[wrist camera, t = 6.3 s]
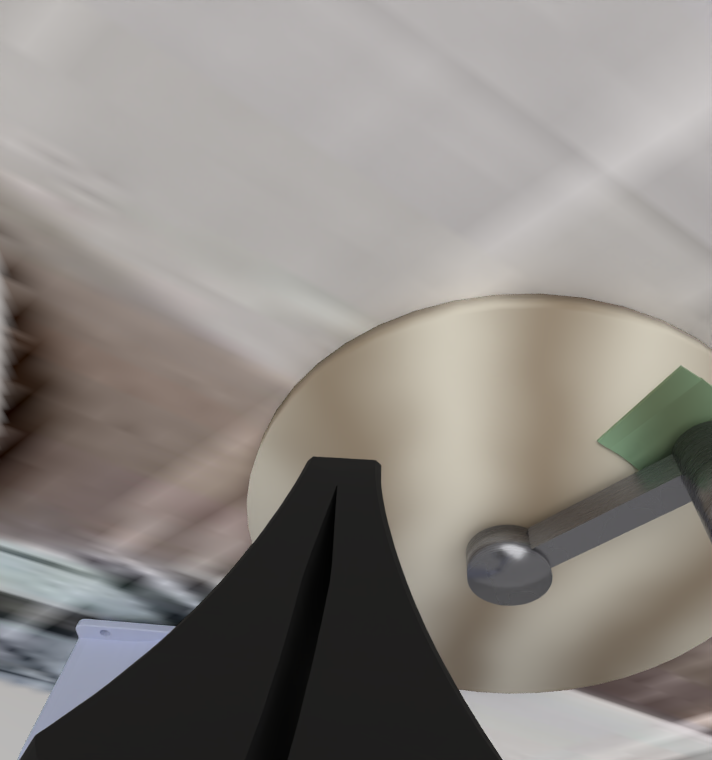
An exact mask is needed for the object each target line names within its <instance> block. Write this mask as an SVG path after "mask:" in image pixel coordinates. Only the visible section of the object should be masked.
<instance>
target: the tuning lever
mask: <svg viewBox="0 0 712 760" xmlns="http://www.w3.org/2000/svg"><path fill="white" fill-rule="evenodd" d="M690 502H692V503H693V505H694V507H695V509H696V511H697V514H698V516H699V518H700V520H701V522H702V524H703V526H704V529H705V531H706V533H707V535H708V537H709V539H710V542H711V544H712V421H707V422H703V423H700V424H698V425H696V426H693V427H692V428H690V429H688V430H687V431H686V432H684V433H683V434H682V435H681V436H680V437H679V438H678V440H677V441H676V443H675V445H674V447H673V450H672V454H671V455H669V456H667V457H665V458H663V459H661V460H660V461H658V462H656V463H654V464H652V465H650V466H648V467H646V468H644V469H642V470H640V471H638V472H636V473H634V474H632V475H630V476H628V477H627V478H625V479H623V480H621V481H619V482H617V483H615V484H613V485H611V486H609V487H607V488H605V489H603V490H601V491H599V492H597V493H595V494H593V495H592V496H590V497H588V498H586V499H584V500H582V501H580V502H578V503H576V504H574V505H572V506H570V507H568V508H566V509H564V510H562V511H560V512H558V513H557V514H555V515H553V516H551V517H549V518H547V519H545V520H543V521H541V522H539V523H537V524H535V525H533V526H531V527H529V528H525V527H522V526H517V525H498V526H493V527H489V528H486V529H484V530H482V531H480V532H479V533H477V534H476V535H475V536H474V537H473V538H472V539H471V540H470V541H469V543H468V545H467V548H466V565H467V581H468V585H469V587H470V589H471V590H472V592H473V593H474V594H475V595H477V596H478V597H479V598H481V599H483V600H485V601H487V602H489V603H492V604H497V605H503V606H516V605H522V604H527V603H530V602H532V601H535V600H537V599H538V598H540V597H541V596H543V595H544V594H545V593H546V592H547V591H548V590H549V588H550V586H551V584H552V571H551V568H552V567H554V566H557V565H559V564H561V563H563V562H565V561H567V560H569V559H571V558H573V557H576V556H578V555H580V554H582V553H584V552H586V551H588V550H590V549H592V548H595V547H597V546H599V545H601V544H603V543H605V542H607V541H609V540H611V539H614V538H616V537H618V536H620V535H622V534H624V533H626V532H628V531H630V530H633V529H635V528H637V527H639V526H641V525H643V524H645V523H647V522H649V521H652V520H654V519H656V518H658V517H660V516H662V515H664V514H666V513H668V512H671V511H673V510H675V509H677V508H679V507H681V506H683V505H685V504H687V503H690Z"/></svg>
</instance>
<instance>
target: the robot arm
mask: <svg viewBox="0 0 712 760" xmlns="http://www.w3.org/2000/svg"><path fill="white" fill-rule="evenodd" d="M76 631H77V634H78V636H79V639H78V641H77V643H76V645H75V647H74V649H73V651H72V652H71V654H70V656H69V658H68V660H67V662H66V664H65V666H64V668H63V670H62V672H61V674H60V676H59V678H58V680H57V682H56V684H55V686H54V688H53V690H52V691H51V693H50V695H49V697H48V699H47V701H46V703H45V705H44V707H43V709H42V711H41V713H40V715H39V717H38V719H37V721H36V723H35V725H34V727H33V729H32V731H31V732H30V734H29V737H28V738H27V740H26V742H25V744H24V746H23V748H22V750H21V752H20V755H19V757H18V759H17V760H503V759H502V758H501V757H500V755H499V754H498V752H497V751H496V749H495V748H494V746H493V745H492V743H491V742H490V740H489V739H488V737H487V736H486V734H485V733H484V731H483V729H482V728H481V726H480V725H479V723H478V721H477V720H476V718H475V716H474V715H473V713H472V712H471V710H470V708H469V707H468V705H467V704H466V702H465V700H464V699H463V697H462V695H461V693H460V691H459V689H458V688H457V686H456V684H455V682H454V680H453V679H452V677H451V675H450V673H449V671H448V670H447V668H446V666H445V664H444V662H443V661H442V659H441V657H440V655H439V653H438V651H437V649H436V647H435V645H434V643H433V641H432V639H431V637H430V635H429V633H428V631H427V629H426V626H425V624H424V622H423V620H422V617H421V615H420V613H419V611H418V608H417V606H416V604H415V601H414V599H413V596H412V594H411V591H410V589H409V586H408V584H407V581H406V578H405V575H404V573H403V570H402V567H401V564H400V561H399V558H398V555H397V552H396V549H395V545H394V542H393V538H392V535H391V531H390V528H389V524H388V520H387V516H386V511H385V506H384V501H383V495H382V487H381V464H380V463H379V462H377V461H376V460H368V459H350V458H333V457H316V456H313V457H312V458H310V459H309V460H308V461H307V463H306V465H305V467H304V469H303V470H302V472H301V474H300V476H299V477H298V479H297V481H296V482H295V484H294V486H293V487H292V489H291V490H290V492H289V493H288V495H287V496H286V498H285V500H284V501H283V503H282V504H281V506H280V507H279V508H278V510H277V511H276V513H275V514H274V515H273V517H272V518H271V520H270V521H269V522H268V524H267V525H266V527H265V528H264V529H263V531H262V532H261V533H260V535H259V536H258V537H257V539H256V540H255V541H254V542H253V544H252V545H251V546H250V547H249V549H248V550H247V551H246V552H245V554H244V555H243V556H242V557H241V558H240V560H239V561H238V562H237V563H236V565H235V566H234V567H233V568H232V569H231V570H230V572H229V573H228V574H227V575H226V576H225V577H224V578H223V580H222V581H221V582H220V583H219V584H218V585H217V586H216V587H215V588H214V589H213V590H212V591H211V592H210V594H209V595H208V596H207V597H206V598H205V599H204V600H203V601H202V602H201V603H200V604H199V605H198V606H197V607H196V608H195V609H194V610H193V611H192V612H191V613H190V614H189V615H188V616H187V617H185V618H184V619H183V620H182V621H181V622H180V623H179V624H178V625H177V626H169V625H157V624H145V623H133V622H120V621H108V620H96V619H82V620H80V621H79V622H78V624H77V626H76Z"/></svg>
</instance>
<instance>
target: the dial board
mask: <svg viewBox="0 0 712 760" xmlns="http://www.w3.org/2000/svg"><path fill="white" fill-rule="evenodd" d="M707 421H712V349H711V348H709V347H708V346H707V345H705V344H704V343H702V342H701V341H700V340H698V339H697V338H695V337H693V336H691V335H689V334H687V333H686V332H684V331H682V330H680V329H678V328H676V327H674V326H672V325H670V324H668V323H666V322H664V321H662V320H660V319H657V318H654V317H651V316H649V315H646V314H643V313H640V312H637V311H634V310H632V309H629V308H626V307H623V306H618V305H613V304H609V303H604V302H600V301H595V300H591V299H586V298H579V297H569V296H558V295H547V294H512V295H492V296H485V297H478V298H471V299H464V300H456V301H452V302H448V303H444V304H440V305H437V306H433V307H429V308H425V309H421V310H417V311H414V312H411V313H409V314H406V315H404V316H401V317H399V318H396V319H394V320H391V321H389V322H386V323H383V324H381V325H378V326H377V327H375V328H373V329H371V330H369V331H367V332H366V333H364V334H362V335H360V336H358V337H356V338H355V339H353V340H351V341H349V342H347V343H345V344H344V345H343V346H341V347H340V348H339V349H337V350H336V351H334V352H333V353H332V354H330V355H329V356H328V357H326V358H325V359H324V360H322V361H321V362H319V363H318V364H317V365H316V366H315V367H314V368H313V369H312V370H311V371H310V372H309V373H308V374H307V375H306V376H305V377H304V378H303V379H302V380H301V381H300V382H299V383H298V384H296V385H295V387H294V388H293V389H292V390H291V392H290V393H289V394H288V396H287V397H286V398H285V400H284V401H283V402H282V404H281V405H280V406H279V408H278V409H277V411H276V413H275V414H274V416H273V418H272V420H271V422H270V424H269V426H268V428H267V430H266V432H265V434H264V436H263V439H262V442H261V444H260V447H259V450H258V453H257V456H256V459H255V463H254V466H253V469H252V472H251V475H250V480H249V488H248V496H247V516H248V528H249V532H250V536H251V541H252V544H253V542H254V541H255V540H256V539H257V537H258V536H259V535H260V533H261V532H262V531H263V529H264V528H265V527H266V525H267V524H268V522H269V521H270V520H271V518H272V517H273V515H274V514H275V513H276V511H277V510H278V508H279V507H280V506H281V504H282V503H283V501H284V500H285V498H286V496H287V495H288V493H289V492H290V490H291V489H292V487H293V486H294V484H295V482H296V481H297V479H298V477H299V476H300V474H301V472H302V470H303V469H304V467H305V465H306V463H307V461H308V460H309V459H310V458H312V457H313V456H316V457H333V458H350V459H368V460H376V461H377V462H379V463H380V464H381V487H382V495H383V501H384V506H385V511H386V516H387V520H388V524H389V528H390V531H391V535H392V538H393V542H394V545H395V549H396V552H397V555H398V558H399V561H400V564H401V567H402V570H403V573H404V575H405V578H406V581H407V584H408V586H409V589H410V591H411V594H412V596H413V599H414V601H415V604H416V606H417V608H418V611H419V613H420V615H421V617H422V620H423V622H424V624H425V626H426V629H427V631H428V633H429V635H430V637H431V639H432V641H433V643H434V645H435V647H436V649H437V651H438V653H439V655H440V657H441V659H442V661H443V662H444V664H445V666H446V668H447V670H448V671H449V673H450V675H451V677H452V679H453V680H454V682H455V684H456V686H457V688H458V689H460V690H468V691H476V692H490V693H541V692H551V691H562V690H570V689H575V688H581V687H587V686H593V685H598V684H601V683H605V682H609V681H613V680H617V679H621V678H625V677H628V676H631V675H634V674H636V673H639V672H642V671H645V670H648V669H651V668H653V667H656V666H658V665H660V664H662V663H665V662H667V661H669V660H671V659H674V658H676V657H678V656H680V655H682V654H684V653H685V652H687V651H689V650H691V649H692V648H694V647H696V646H698V645H700V644H701V643H703V642H705V641H706V640H708V639H709V638H710V637H712V544H711V542H710V539H709V537H708V535H707V533H706V531H705V529H704V526H703V524H702V522H701V520H700V518H699V516H698V514H697V511H696V509H695V507H694V505H693V503H692V502H690V503H687V504H685V505H683V506H681V507H679V508H677V509H675V510H673V511H671V512H668V513H666V514H664V515H662V516H660V517H658V518H656V519H654V520H652V521H649V522H647V523H645V524H643V525H641V526H639V527H637V528H635V529H633V530H630V531H628V532H626V533H624V534H622V535H620V536H618V537H616V538H614V539H611V540H609V541H607V542H605V543H603V544H601V545H599V546H597V547H595V548H592V549H590V550H588V551H586V552H584V553H582V554H580V555H578V556H576V557H573V558H571V559H569V560H567V561H565V562H563V563H561V564H559V565H557V566H554V567H552V568H551V571H552V584H551V586H550V588H549V590H548V591H547V592H546V593H545V594H544V595H543V596H541V597H540V598H538V599H537V600H535V601H532V602H530V603H527V604H522V605H516V606H503V605H497V604H492V603H489V602H487V601H485V600H483V599H481V598H479V597H478V596H477V595H475V594H474V593H473V592H472V590H471V589H470V587H469V585H468V581H467V565H466V548H467V545H468V543H469V541H470V540H471V539H472V538H473V537H474V536H475V535H476V534H477V533H479V532H480V531H482V530H484V529H486V528H489V527H493V526H498V525H517V526H522V527H525V528H529V527H531V526H533V525H535V524H537V523H539V522H541V521H543V520H545V519H547V518H549V517H551V516H553V515H555V514H557V513H558V512H560V511H562V510H564V509H566V508H568V507H570V506H572V505H574V504H576V503H578V502H580V501H582V500H584V499H586V498H588V497H590V496H592V495H593V494H595V493H597V492H599V491H601V490H603V489H605V488H607V487H609V486H611V485H613V484H615V483H617V482H619V481H621V480H623V479H625V478H627V477H628V476H630V475H632V474H634V473H636V472H638V471H640V470H642V469H644V468H646V467H648V466H650V465H652V464H654V463H656V462H658V461H660V460H661V459H663V458H665V457H667V456H669V455H671V454H672V450H673V447H674V445H675V443H676V441H677V440H678V438H679V437H680V436H681V435H682V434H683V433H684V432H686V431H687V430H688V429H690V428H692V427H693V426H696V425H698V424H700V423H703V422H707Z"/></svg>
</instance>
